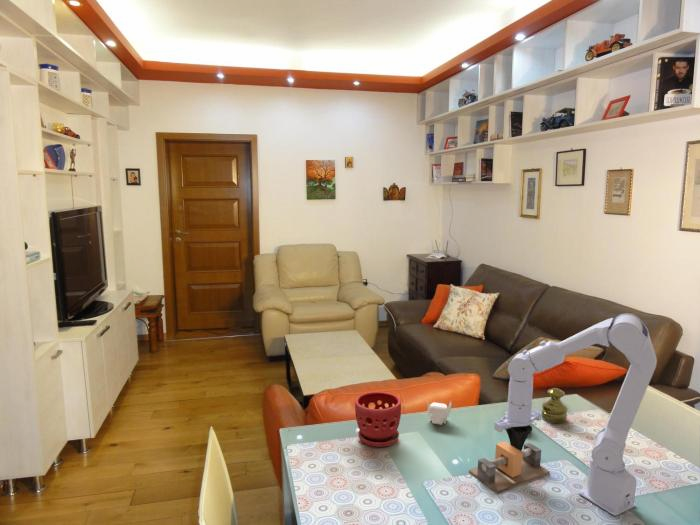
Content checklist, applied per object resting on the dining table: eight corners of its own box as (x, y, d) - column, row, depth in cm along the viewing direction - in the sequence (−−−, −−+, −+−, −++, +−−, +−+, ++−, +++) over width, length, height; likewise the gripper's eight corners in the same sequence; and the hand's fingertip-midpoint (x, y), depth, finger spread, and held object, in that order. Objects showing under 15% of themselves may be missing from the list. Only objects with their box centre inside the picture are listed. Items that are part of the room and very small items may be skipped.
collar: (520, 474, 126) (522, 452, 125) (512, 477, 125) (513, 455, 124) (503, 462, 131) (504, 441, 130) (494, 465, 130) (496, 443, 129)
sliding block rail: (549, 473, 128) (551, 455, 128) (497, 493, 120) (498, 474, 119) (519, 454, 137) (520, 437, 136) (468, 472, 129) (469, 454, 128)
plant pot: (400, 429, 150) (401, 391, 148) (400, 452, 137) (401, 411, 135) (356, 426, 151) (357, 388, 149) (352, 449, 139) (353, 408, 137)
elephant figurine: (423, 427, 151) (424, 405, 150) (427, 413, 161) (428, 392, 159) (448, 431, 149) (450, 409, 148) (452, 417, 158) (453, 395, 157)
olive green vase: (536, 415, 161) (538, 385, 159) (555, 412, 163) (558, 383, 161) (551, 426, 154) (554, 395, 152) (571, 422, 156) (574, 392, 154)
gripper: (527, 389, 133) (524, 437, 135) (486, 400, 126) (483, 450, 129) (549, 400, 127) (545, 449, 129) (507, 412, 120) (504, 464, 122)
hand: (516, 451), depth 129 cm, fingers closed
